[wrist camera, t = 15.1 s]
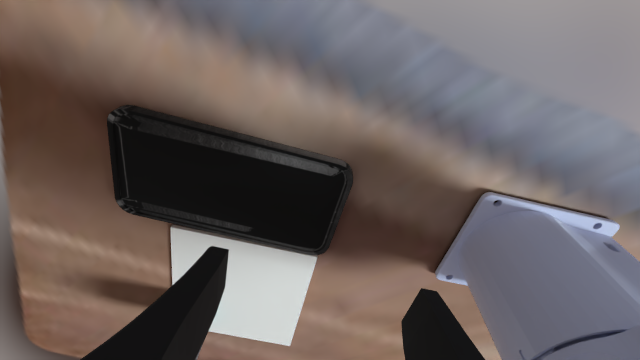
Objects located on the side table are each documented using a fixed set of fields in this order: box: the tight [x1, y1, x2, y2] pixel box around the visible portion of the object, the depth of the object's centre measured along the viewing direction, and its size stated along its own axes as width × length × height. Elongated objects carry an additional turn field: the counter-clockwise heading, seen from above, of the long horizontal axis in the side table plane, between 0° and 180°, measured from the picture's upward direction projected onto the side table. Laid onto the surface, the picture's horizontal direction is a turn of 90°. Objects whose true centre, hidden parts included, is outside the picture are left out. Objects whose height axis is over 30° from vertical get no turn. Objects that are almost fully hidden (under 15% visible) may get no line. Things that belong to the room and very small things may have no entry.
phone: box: [107, 105, 353, 255], centre depth 20 cm, size 8×1×15 cm
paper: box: [170, 225, 318, 346], centre depth 26 cm, size 11×12×1 cm
